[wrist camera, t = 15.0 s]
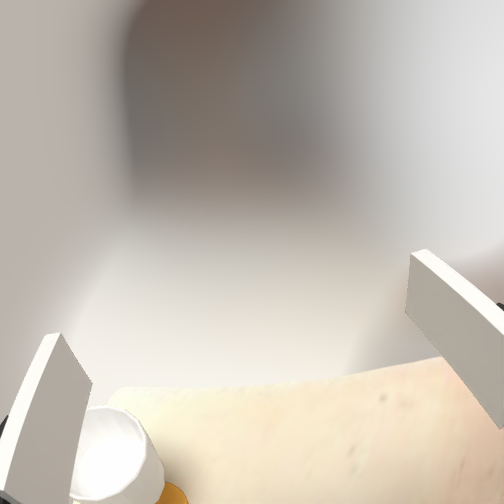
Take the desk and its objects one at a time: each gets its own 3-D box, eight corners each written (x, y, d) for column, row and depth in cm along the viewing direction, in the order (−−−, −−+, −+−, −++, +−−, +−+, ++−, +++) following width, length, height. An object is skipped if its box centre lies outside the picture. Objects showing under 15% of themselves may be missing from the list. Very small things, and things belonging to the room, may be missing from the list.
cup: (195, 550, 25) (133, 512, 18) (111, 535, 26) (30, 483, 18) (202, 476, 35) (157, 407, 28) (126, 469, 36) (66, 400, 29)
